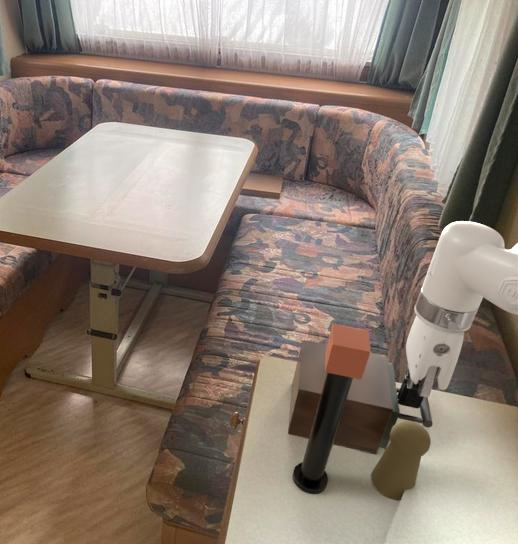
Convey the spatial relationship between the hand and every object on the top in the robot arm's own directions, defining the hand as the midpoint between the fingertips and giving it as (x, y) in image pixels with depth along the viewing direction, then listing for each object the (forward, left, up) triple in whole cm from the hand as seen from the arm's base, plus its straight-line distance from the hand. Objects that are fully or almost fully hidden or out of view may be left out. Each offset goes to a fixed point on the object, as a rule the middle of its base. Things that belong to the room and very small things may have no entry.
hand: (407, 402), depth 90 cm
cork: (-2, +11, -6) cm, 13 cm away
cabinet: (+10, +4, -6) cm, 12 cm away
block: (+8, +18, +16) cm, 25 cm away
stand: (+8, +18, -6) cm, 21 cm away
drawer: (+5, +2, -5) cm, 8 cm away
